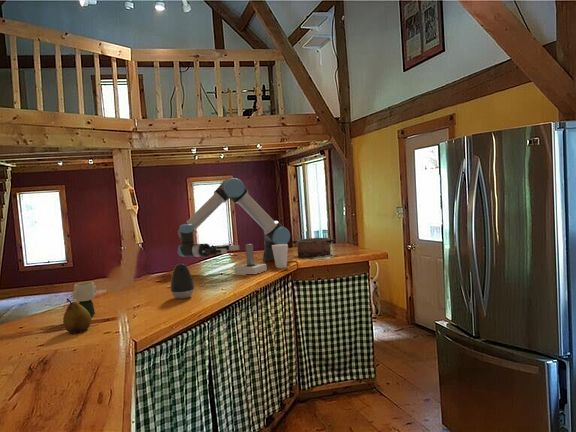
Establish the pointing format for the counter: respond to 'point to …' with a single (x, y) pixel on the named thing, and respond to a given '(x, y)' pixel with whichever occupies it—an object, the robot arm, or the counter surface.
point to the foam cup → (280, 255)
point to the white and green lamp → (85, 295)
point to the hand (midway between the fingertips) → (232, 249)
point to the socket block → (250, 269)
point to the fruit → (76, 318)
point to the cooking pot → (313, 247)
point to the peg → (249, 255)
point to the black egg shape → (181, 282)
